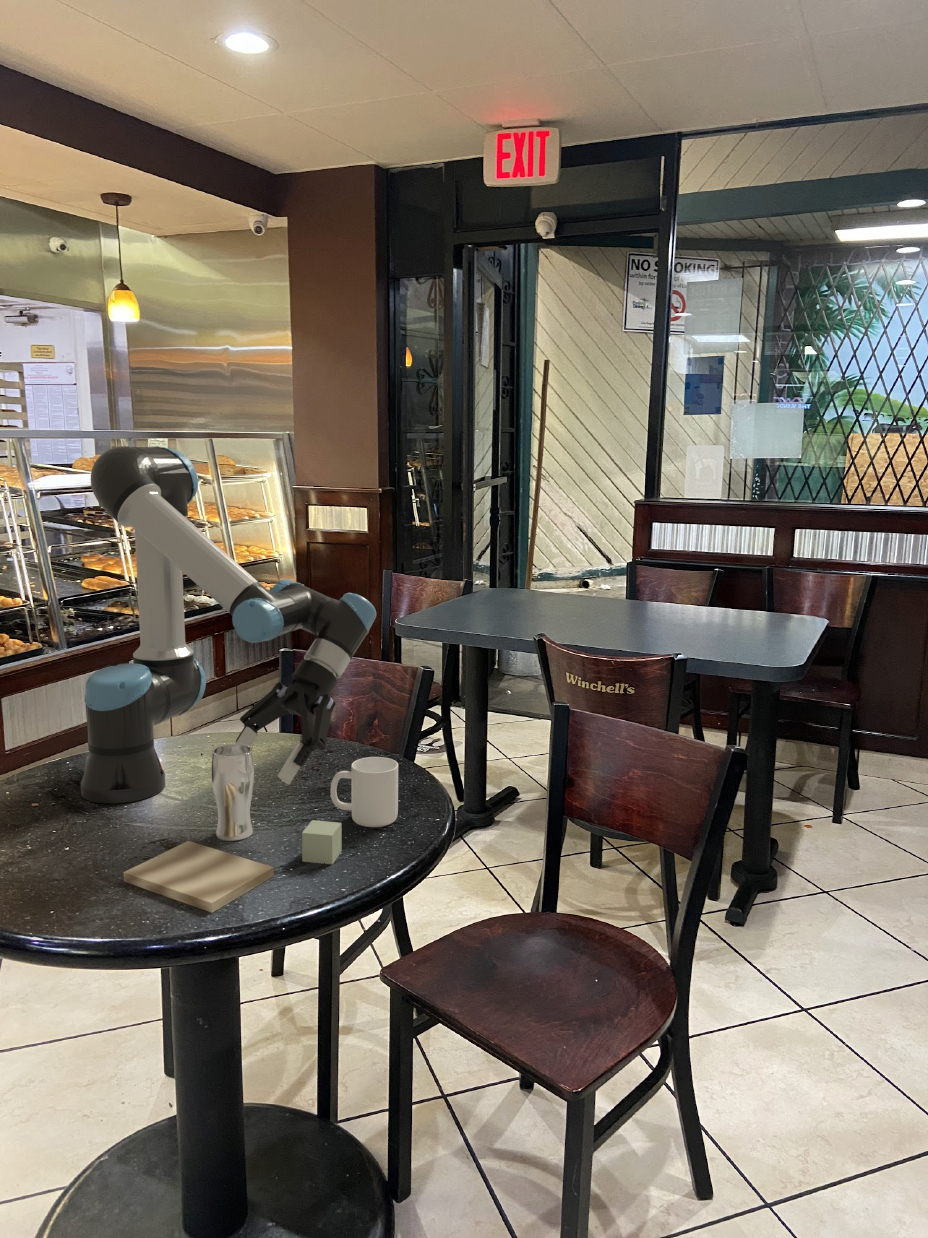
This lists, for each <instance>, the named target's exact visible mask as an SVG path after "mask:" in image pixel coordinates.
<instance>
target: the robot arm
mask: <svg viewBox="0 0 928 1238" xmlns="http://www.w3.org/2000/svg"><path fill="white" fill-rule="evenodd" d="M195 468H196V467H195V466H194V464H193V462H191V460H190V459H189V458H188V457H187V456H186V455H185V454H184V453H182V452H181V451H179V450H177V449H175V448H169V447H168V448H167V447H166V446H165V447H164V446H130V445H129V446H125V445H122V446H121V445H120V446H116V447H113V448H110V449H108V450H106V451H104V452H103V453H101V455H99V456H98V458H97V459H96V460H95V462H94V464H93V466H92V467H91V471H90V485H91V490H92V493H93V495H94V497H95V499H96V501H97V502H98V504H99V505H100V506H101V507H102V508H103V510H104V511H105V512H106V513H107V514H108V515H109V516H110V517H111V518H113V519H114V520H115V521H116V522H117V523H118V524H119V525H121V526H122V527H125V528H130V527H131V528H132V529H134V540H135V541H134V542H135V543H134V544H135V561H136V562H135V564H136V566H135V567H136V579H137V580H136V583H137V585H136V586H137V598H138V599H137V602H138V619H139V623H138V624H139V639H140V645H139V647H138V648H137V649H136V650H135V651H134V652H133V654H132V663H129V662H128V663H118V664H117V665H110V666H105V667H103V668H100V669H99V670H96V671H94V672H93V673H91V675H89V676H88V678H87V679H86V682H85V694H84V703H85V715H86V727H87V741H88V742H87V743H88V744H87V745H88V756H87V760H86V763H85V767H84V772H83V776H82V778H81V781H80V794H81V796H82V798H83V799H85V800H86V801H90V802H93V803H99V804H125V803H132V802H137V801H141V800H145V799H148V798H151V797H152V796H155V795H158V794H159V793H160V792H162V791H163V790H164V789H165V788H166V774H165V771H164V769H163V766H162V763H161V761H160V759H159V755H158V753H157V751H156V749H155V739H154V737H155V735H154V732H155V731H154V726H156V725H157V724H160V723H162V722H165V721H167V720H170V719H172V718H174V717H177V716H181V715H183V714H185V713H186V712H188V711H189V710H190V709H193V708H194V707H195V706H196V705H197V704H198V703H199V702H200V701H201V699H202V698H203V696H204V693H205V690H206V686H207V678H206V674H205V671H204V668H203V666H200V663H199V661H198V660H197V659H196V658H194V656H195V655H194V653H195V652H194V649H192V648H191V647H190V646H189V645H188V644H187V643H186V629H185V625H186V624H185V604H184V602H185V600H184V580H183V576H184V575H183V573H184V574H185V575H186V577H188V578H189V579H190V580H191V581H193V582H194V583H195V584H196V585H197V586H198V587H200V589H202V590H203V591H204V592H205V593H206V594H207V595H209V597H211V599H213V600H214V601H215V602H216V603H217V604H219V605H220V606H221V607H222V608H223V609H224V610H225V611H226V612H227V613H229V614H230V615H231V616H232V625H233V626H232V627H234V630H235V633H236V634H237V635H238V636H239V638H240V639H242V640H244V641H246V642H248V643H253V644H257V643H261V642H268V641H272V640H273V639H275V638H277V637H280V636H281V635H285V634H287V633H290V632H294V631H297V630H299V629H302V631H303V630H304V631H306V632H308V633H310V634H313V635H315V636H316V638H315V639H314V640H313V642H312V644H311V645H310V647H309V648H308V649H307V651H306V653H305V654H304V655H303V658H304V659H303V660H300V662H299V664H298V665H297V667H296V669H295V670H294V672H293V673H292V683H291V684H290V685H288V687H287V686H285V685H284V684H283V683H282V682H281V681H279V682H277V683H275V684H274V686H273V687H272V689H271V690H270V691H269V692H268V693H267V694H266V695H264V697H262V698H261V699H260V700H259V701H258V702H256V703H255V704H254V705H253V706H252V707H251V708H249V709H248V710H247V711H246V712H244V714H242V715H240V718H239V721H240V722H241V723H242V724H243V725H244V726H243V729H242V730H241V732H240V733H239V735H238V736H237V738H236V739H235V743H234V744H244V745H248V746H250V747H251V748H252V745H253V744H254V742H255V740H256V739H257V738H258V735H259V733H258V732H259V731H260V730H262V729H263V728H265V727H266V726H268V725H270V724H271V723H273V722H275V721H276V720H277V719H279V718H281V717H284V716H288V715H289V714H291V715H294V716H295V715H297V716H298V717H300V721H301V740H299V742H297V743H296V745H295V746H294V748H293V749H292V751H291V753H290V754H289V756H288V758H287V759H286V761H285V762H284V764H283V766H282V768H281V769H280V771H279V773H277V777H278V778H279V779H280V780H281V781H282V782H283V783H285V784H286V785H290V784H291V783H292V781H293V779H294V778H295V776H296V775H297V773H298V771H299V769H300V768H303V766H305V764H306V762H307V760H308V759H309V758H310V755H311V753H312V752H315V750H319V751H324V750H325V749H326V746H327V742H328V741H327V740H328V733H329V728H330V722H331V716H332V713H333V711H334V708H335V706H336V703H337V702H336V701H335V700H334V699H333V698H332V697H331V696H330V695H331V693H332V691H333V690H334V688H335V687H336V685H337V683H338V679H340V678H341V677H342V675H343V673H344V671H345V670H346V668H347V667H348V665H349V663H350V662H351V660H352V659H353V657H354V655H355V653H357V650H358V649H359V647H360V646H361V644H362V642H363V641H364V640H365V638H366V636H367V635H368V634H369V632H370V629H371V628H372V625H373V623H374V622H375V619H376V618H377V611H376V608H375V606H374V605H373V604H372V602H370V601H369V600H368V599H366V598H365V597H363V596H361V595H359V593H358V594H357V593H352V592H347V593H344V594H343V596H342V597H340V599H339V600H338V599H335V598H332V597H330V596H327V595H325V594H323V593H322V592H321V593H320V592H318V591H316V590H314V589H312V588H310V587H307V586H305V584H303V583H300V582H298V581H297V582H296V581H293V580H291V579H286V578H285V579H284V578H283V579H280V580H278V582H277V583H276V584H274V585H273V586H272V587H271V589H270V590H269V589H267V588H266V587H265V586H264V585H262V584H261V582H259V581H258V580H257V579H255V578H254V576H252V575H251V574H250V573H249V572H248V571H247V570H245V568H243V567H242V566H241V565H240V564H239V563H237V562H236V561H235V560H234V559H233V558H232V557H231V556H229V555H228V554H227V553H226V552H225V551H224V550H223V549H222V548H221V547H219V546H218V545H217V544H216V543H215V542H213V540H211V539H210V537H208V536H207V535H206V534H205V533H203V532H202V531H201V530H200V529H199V528H198V527H196V525H195V524H193V523H192V521H190V520H189V519H188V518H189V510H188V509H189V508H188V505H189V503H191V502H192V501H193V499H194V497H196V494H197V492H198V488H199V478H198V477H199V476H198V473H197V470H196V469H195ZM316 710H317V711H316Z"/></svg>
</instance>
